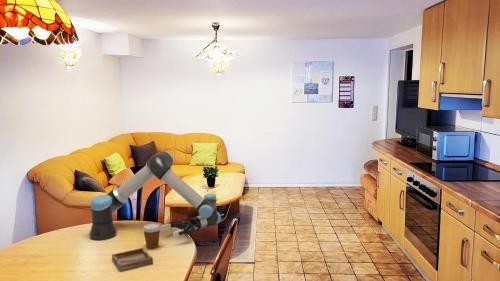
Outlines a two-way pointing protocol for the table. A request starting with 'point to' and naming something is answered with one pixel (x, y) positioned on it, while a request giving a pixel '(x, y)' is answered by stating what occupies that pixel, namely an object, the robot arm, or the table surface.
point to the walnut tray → (132, 259)
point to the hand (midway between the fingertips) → (166, 231)
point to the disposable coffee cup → (152, 235)
